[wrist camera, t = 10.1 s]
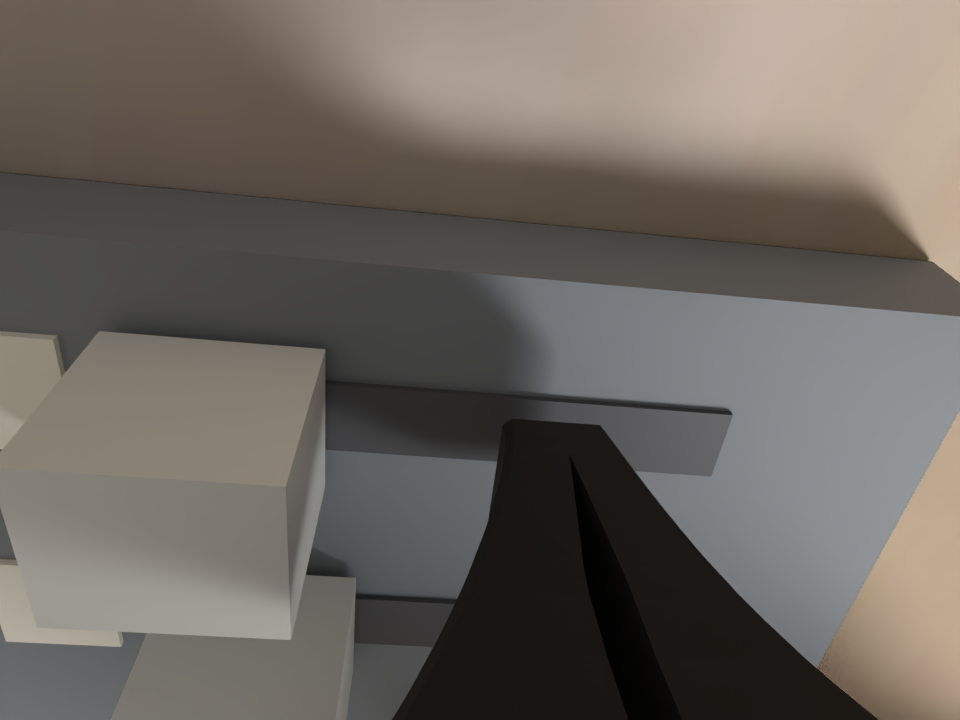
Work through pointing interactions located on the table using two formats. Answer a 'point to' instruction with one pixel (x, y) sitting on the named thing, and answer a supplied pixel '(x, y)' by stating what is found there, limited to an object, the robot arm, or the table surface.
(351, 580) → the switch
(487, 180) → the table surface
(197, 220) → the panel
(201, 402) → the switch
